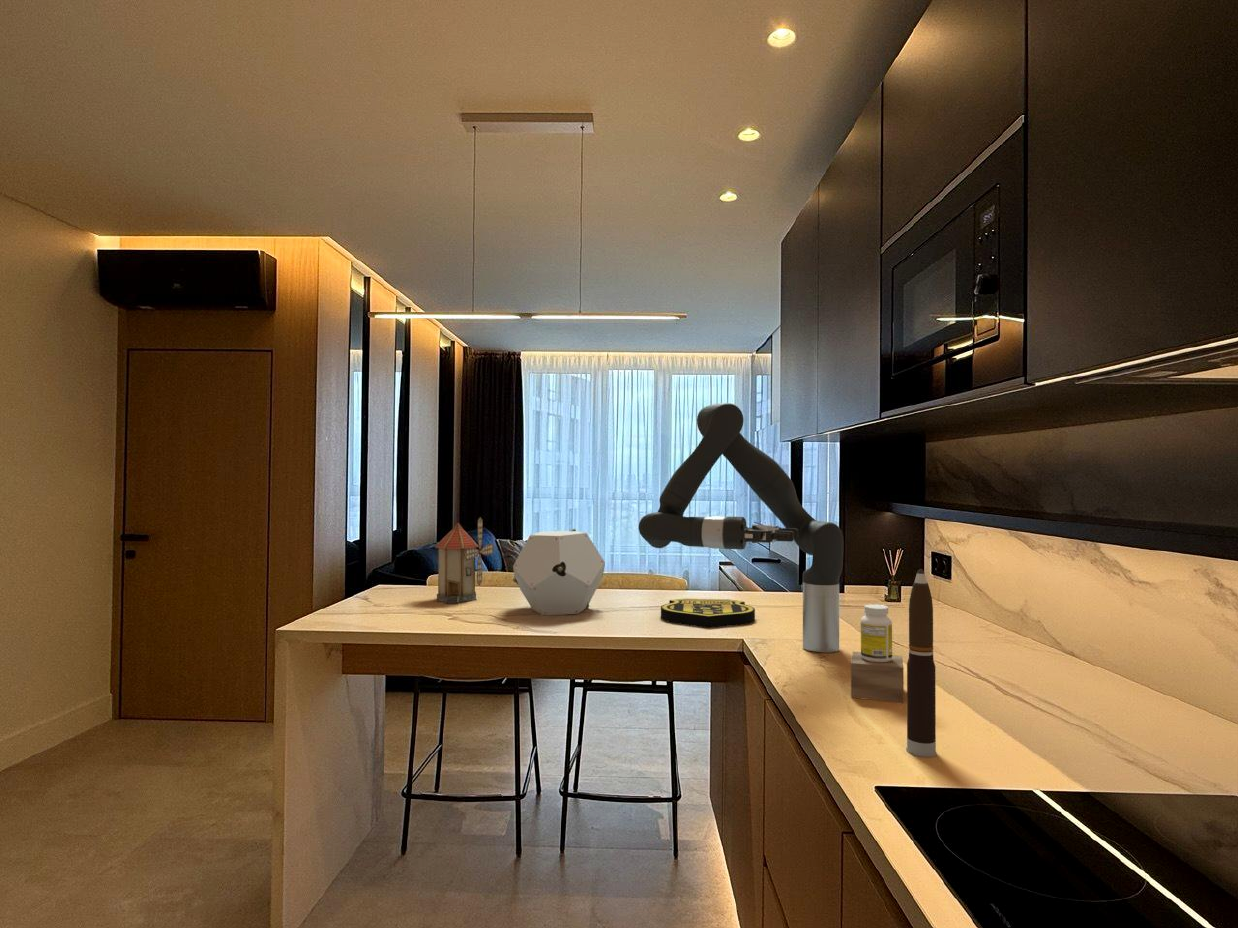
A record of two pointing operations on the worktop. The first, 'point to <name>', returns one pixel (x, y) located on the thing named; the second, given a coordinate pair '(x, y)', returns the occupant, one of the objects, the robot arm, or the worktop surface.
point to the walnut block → (877, 679)
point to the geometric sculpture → (559, 571)
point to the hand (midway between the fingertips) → (795, 534)
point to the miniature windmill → (460, 565)
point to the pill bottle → (876, 634)
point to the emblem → (708, 612)
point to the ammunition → (921, 672)
